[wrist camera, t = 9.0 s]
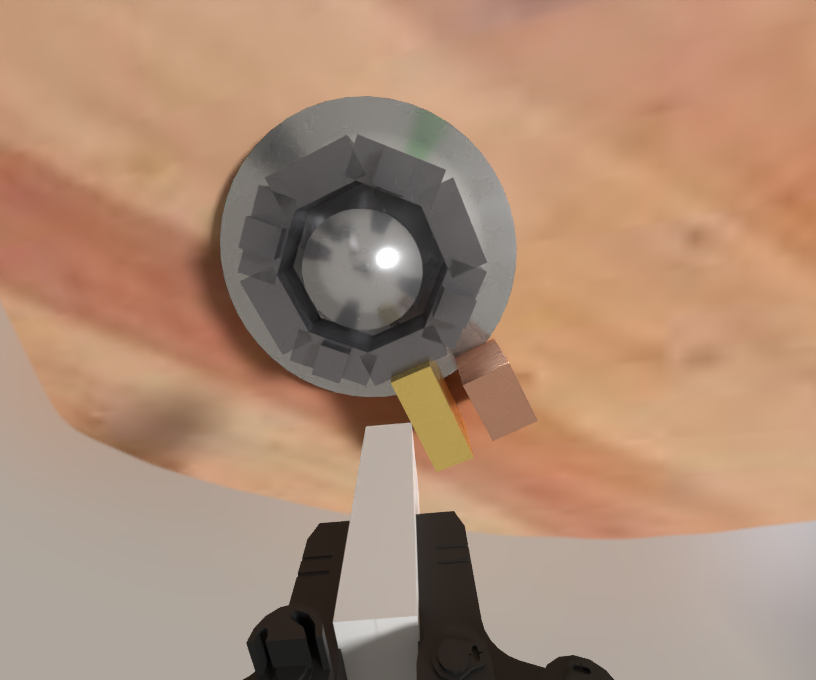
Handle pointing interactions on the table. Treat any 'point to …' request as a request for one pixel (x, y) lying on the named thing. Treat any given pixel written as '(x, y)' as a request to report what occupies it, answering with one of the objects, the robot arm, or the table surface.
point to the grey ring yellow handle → (348, 348)
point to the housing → (386, 247)
